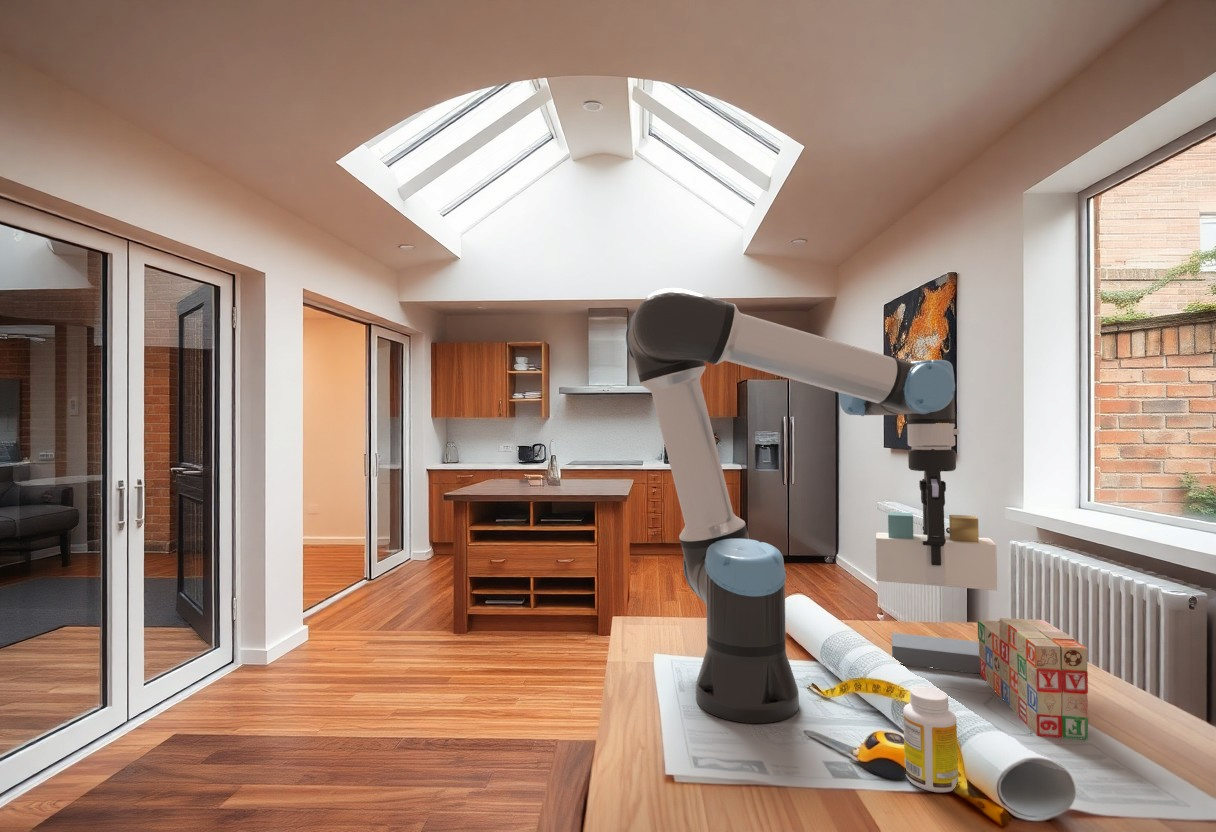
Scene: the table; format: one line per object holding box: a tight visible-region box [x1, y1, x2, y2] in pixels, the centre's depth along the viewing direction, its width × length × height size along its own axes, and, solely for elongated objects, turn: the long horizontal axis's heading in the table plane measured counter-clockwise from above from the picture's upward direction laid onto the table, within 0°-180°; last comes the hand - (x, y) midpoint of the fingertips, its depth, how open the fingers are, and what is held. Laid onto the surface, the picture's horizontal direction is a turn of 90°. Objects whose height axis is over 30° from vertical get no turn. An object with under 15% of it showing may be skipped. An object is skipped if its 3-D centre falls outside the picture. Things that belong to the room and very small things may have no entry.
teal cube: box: [887, 511, 914, 539], centre depth 116 cm, size 4×4×4 cm
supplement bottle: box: [902, 686, 959, 793], centre depth 75 cm, size 6×6×10 cm
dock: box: [891, 632, 980, 674], centre depth 113 cm, size 14×8×3 cm, turn 67°
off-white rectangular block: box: [875, 531, 998, 591], centre depth 113 cm, size 18×7×8 cm, turn 67°
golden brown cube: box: [948, 514, 980, 543], centre depth 112 cm, size 4×4×4 cm
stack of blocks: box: [977, 617, 1089, 740], centre depth 95 cm, size 21×6×12 cm, turn 169°
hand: (934, 578), depth 113 cm, fingers closed on off-white rectangular block, 7 cm apart
